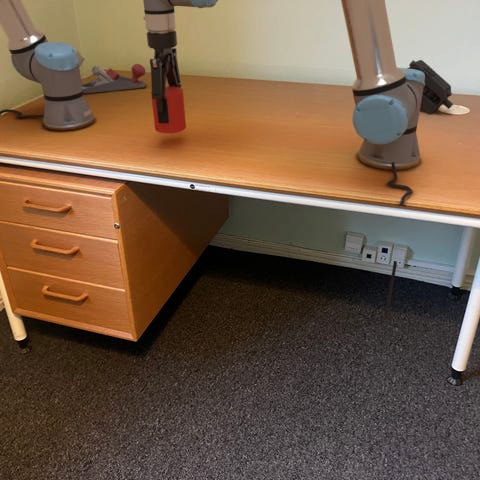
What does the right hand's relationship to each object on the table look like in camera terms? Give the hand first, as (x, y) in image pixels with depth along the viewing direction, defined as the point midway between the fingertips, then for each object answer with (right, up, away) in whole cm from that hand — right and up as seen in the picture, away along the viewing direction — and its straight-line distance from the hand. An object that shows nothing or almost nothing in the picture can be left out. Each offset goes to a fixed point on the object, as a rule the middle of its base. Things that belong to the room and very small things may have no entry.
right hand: (169, 116), depth 147 cm
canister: (0, -3, +2) cm, 3 cm away
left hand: (-20, +55, +27) cm, 64 cm away
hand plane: (-31, +22, +51) cm, 64 cm away
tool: (+78, +9, +26) cm, 82 cm away
